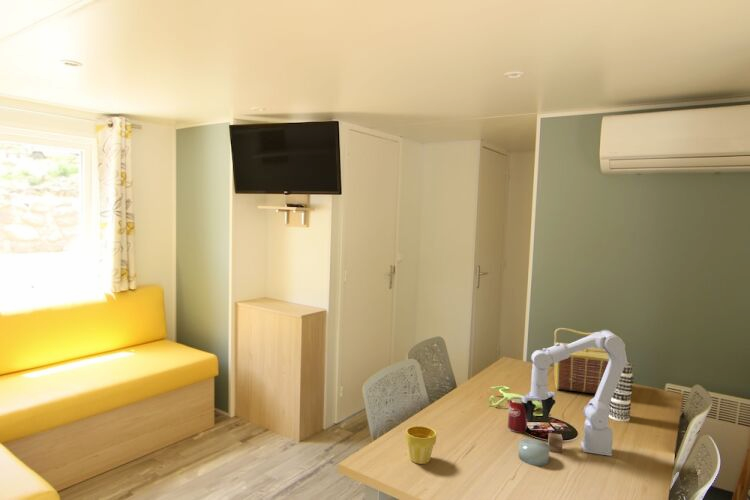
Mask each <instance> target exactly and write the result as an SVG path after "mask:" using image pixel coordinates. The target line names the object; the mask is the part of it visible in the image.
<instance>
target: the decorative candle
mask: <svg viewBox="0 0 750 500" xmlns="http://www.w3.org/2000/svg"><path fill="white" fill-rule="evenodd" d="M633 367H634V365H633V364H632V362H630V361H629V360H627V362H626V364H625V367H624V369H623V372H622V374H621V377H620V379H619V382H618V384H617V387H616V389H615V392H614V394H613V396H612V399H611V401H610V404H609V408H610V414H609V418H610V419H611V420H613V421H617V422H629V421H631V419H630V417H631V415H630V414H631V406H632V403H631V394H632V393H633V392H632V391H633V389H632V388H633V385H632V384H633V383H634V381H633V380H634V377H633Z"/></svg>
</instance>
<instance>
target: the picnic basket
mask: <svg viewBox="0 0 750 500" xmlns="http://www.w3.org/2000/svg"><path fill="white" fill-rule="evenodd" d="M559 331H569V332H571V333H573V334H575V335H579V336H585V337H587V336H589V335H591V334H593V333H595V332H596V331H594V332H583V331H579V330H575V329H571V328H565V327H558V328H557V329H555V331H554V332H553V333H554V341H553V346H555V343H559V344H560V343H563V344H565V345H568V344H570V343H571V342H559V341H558V332H559ZM609 359H610V358H609V356H608V354H607V352H606V350H605V349H604V348H603V350H602V349H598V348H594V347H591V348H587V349H584V350H581V351H577V352H574V353H571V354H570V356H569V358H567V359H564V360H561V361H558V362H556V363H553V373H554V374H553V375H554V383H555V388H556V390H557V391H559V390H565V391H570V392H571V391H572V392H580V393H585V394H586V393H587V394H593V395H596V392H597V390H598V387H599V385H600V382H601V379H602V377H603V374H604V372H605V369H606V367H607V364H608V362H609Z"/></svg>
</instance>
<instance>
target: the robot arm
mask: <svg viewBox="0 0 750 500" xmlns="http://www.w3.org/2000/svg"><path fill="white" fill-rule="evenodd" d="M594 332H595V333H594ZM594 332H592V333H593V334H591V335H589V336H585V337H582V338H579V339H577V340H576V341H573V342H569V343H570V344H568V345H565V344H563V343H564V342H561V343H560V344H559V343H555V346H554V345H553V346H550V347H547V348H545V347H543V348H542V349H537V350H534V351H533V353H532V354H531V356H530V360H531V361H532V367H531V368H532V369H531V378H530V379H531V382H530V390H529V393H527V394H525V395H523V396H522V400H521V402H522V404H523V406H524V409H525V412H526V417H527V421H528V422H533V419H534V415H533V412H534V411H535V410H536V407H535V406H536V405H535V404H533V402H532V401H536V400H541V404H542V408H541V414H542V415H543V418H545V419H549V416H550V412H551V410H552V409H553V406H554V405H555V404H556V400H555V398H556V392H554V391H548V381H549V370H548V369H549V367H550V366H551V364H552V365H554V363H556V362H558V361H561V360H564V359H567V358H569V356H570V354H571V353H574V352H577V351H581V350H584V349H587V348H591V347H594V348H598V349H602V350H603V348H604V349H605V350H606V352H607V354H608V356H609V358H610V359H609V362H608V364H607V367H606V369H605V372H604V374H603V377H602V379H601V382H600V385H599V387H598V390H597V392H596V394H594V397H593V398H591V399H590V400H589V402H588V404H587V405H585V406H584V408H583V415H584V417H585V421H584V425H583V426H584V429H583V440H581V441H580V445H581V448H582V451H583V452H584V453H589V454H595V455H602V456H608V457H612V456H613V453H612V452H613V443H614V442H613V441H614V436H613V435H614V433H613V429H612V427H609V424H610V419H609V418H610V417H609V414H610V408H609V404H610V401H611V399H612V396H613V394H614V392H615V389H616V387H617V384H618V382H619V379H620V377H621V374H622V372H623V369H624V367H625V364H626V362H627V361H628V357H627V352H626V344H625V342H624V340H622V338H621V337H620V336H618V335H616V334H615V333H613V331H611V330H609V329H602V330H600V331H594ZM534 409H535V410H534ZM534 413H535V412H534Z"/></svg>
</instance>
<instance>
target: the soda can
mask: <svg viewBox="0 0 750 500" xmlns="http://www.w3.org/2000/svg"><path fill="white" fill-rule="evenodd" d="M521 400H522V398H521V397H512V398H510V400H508V401H509V402H508V413H507V415H508V418H507V428H508V430H510V431H512V432H514V433H519V434H521V433H525V432H526V431H527V430H526V429H528V428H527V427H528V420H527V417H526V412H525V409H524V406H523V404H522V402H521ZM524 431H525V432H524Z"/></svg>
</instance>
